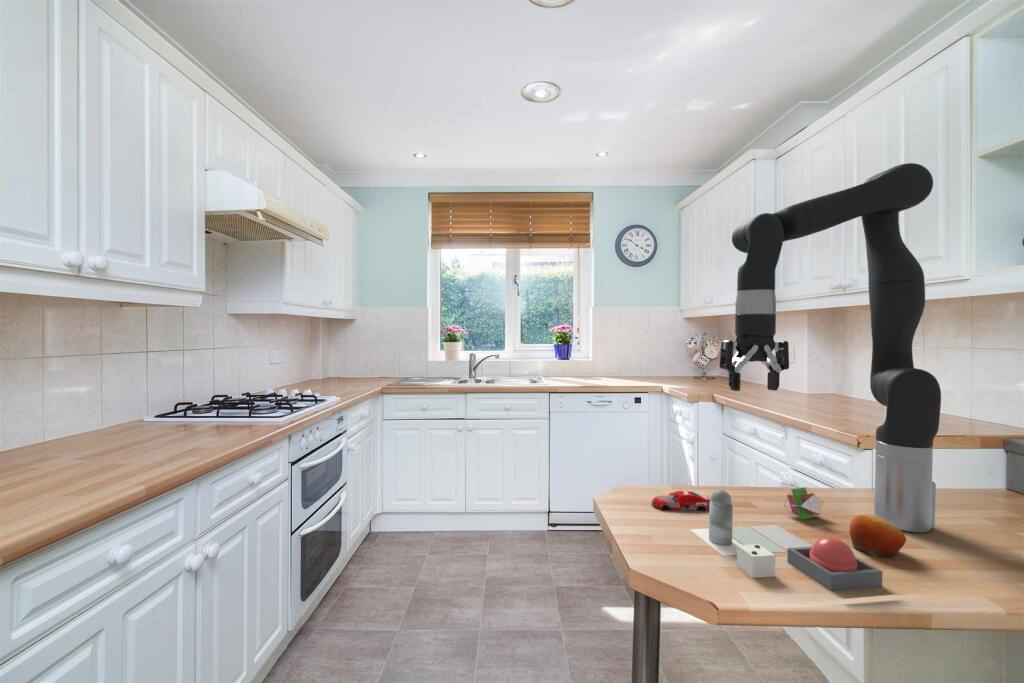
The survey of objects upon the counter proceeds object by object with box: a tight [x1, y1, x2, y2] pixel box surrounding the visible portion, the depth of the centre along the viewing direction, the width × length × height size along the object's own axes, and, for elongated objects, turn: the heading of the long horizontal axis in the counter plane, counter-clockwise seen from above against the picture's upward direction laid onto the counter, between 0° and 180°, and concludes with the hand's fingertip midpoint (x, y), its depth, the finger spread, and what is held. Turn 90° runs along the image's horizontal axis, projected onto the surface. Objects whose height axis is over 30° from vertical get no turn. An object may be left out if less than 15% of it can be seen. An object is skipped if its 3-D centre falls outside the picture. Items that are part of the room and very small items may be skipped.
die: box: [736, 544, 776, 579], centre depth 76 cm, size 4×4×4 cm
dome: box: [809, 536, 857, 572], centre depth 76 cm, size 6×6×6 cm
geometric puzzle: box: [783, 486, 824, 521], centre depth 100 cm, size 7×7×8 cm
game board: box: [690, 524, 813, 557], centre depth 88 cm, size 20×12×1 cm, turn 98°
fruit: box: [849, 513, 907, 558], centre depth 84 cm, size 8×8×8 cm
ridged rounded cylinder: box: [708, 489, 734, 546], centre depth 87 cm, size 4×4×10 cm
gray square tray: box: [786, 547, 883, 592], centre depth 76 cm, size 9×9×3 cm
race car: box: [651, 490, 711, 512], centre depth 105 cm, size 13×5×4 cm, turn 88°
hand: (753, 390), depth 97 cm, fingers open, 8 cm apart
